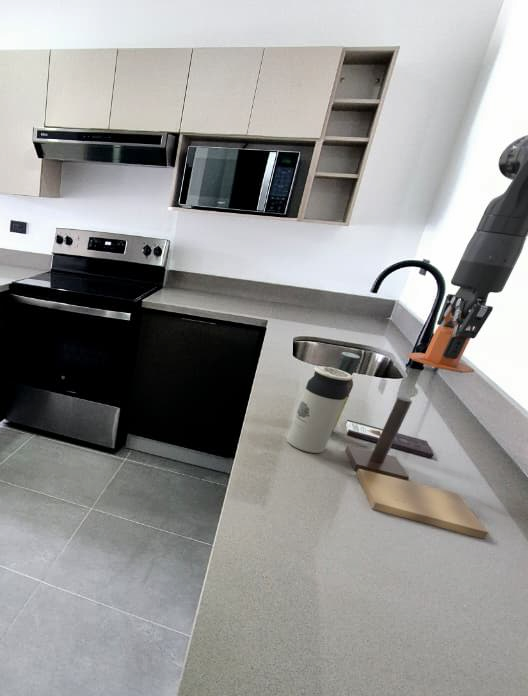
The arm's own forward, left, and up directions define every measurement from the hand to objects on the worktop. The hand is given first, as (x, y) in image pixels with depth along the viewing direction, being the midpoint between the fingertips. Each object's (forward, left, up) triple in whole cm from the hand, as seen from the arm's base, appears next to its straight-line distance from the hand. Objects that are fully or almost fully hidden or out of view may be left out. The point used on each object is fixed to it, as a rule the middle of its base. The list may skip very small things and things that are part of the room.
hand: (443, 353), depth 94 cm
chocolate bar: (-6, -23, -27) cm, 36 cm away
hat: (0, 0, -2) cm, 2 cm away
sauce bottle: (+10, -19, -27) cm, 35 cm away
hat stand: (+1, -4, -27) cm, 28 cm away
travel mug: (+15, -6, -27) cm, 32 cm away
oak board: (-3, +10, -27) cm, 29 cm away
